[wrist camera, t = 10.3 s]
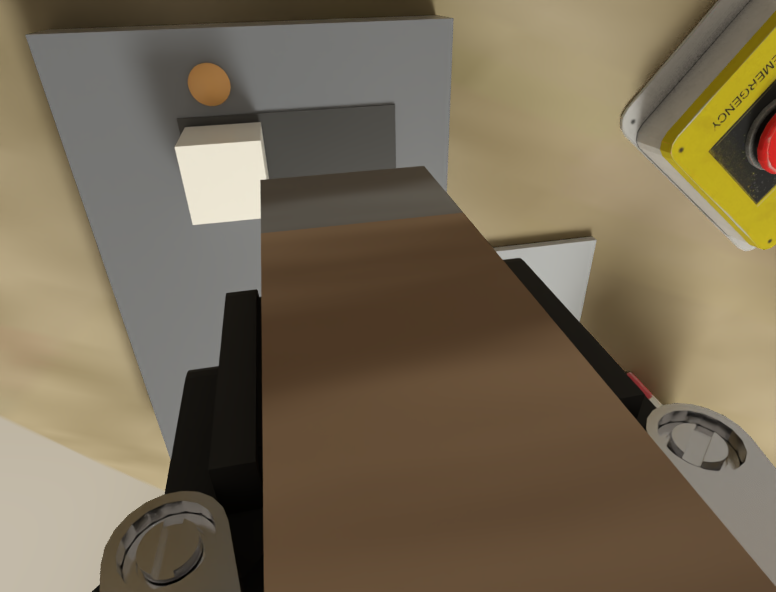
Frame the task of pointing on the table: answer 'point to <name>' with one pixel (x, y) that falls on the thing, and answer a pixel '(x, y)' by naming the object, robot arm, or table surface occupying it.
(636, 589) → the brown block
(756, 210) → the emergency button
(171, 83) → the switch board
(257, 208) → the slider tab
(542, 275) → the mat
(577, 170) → the table surface
